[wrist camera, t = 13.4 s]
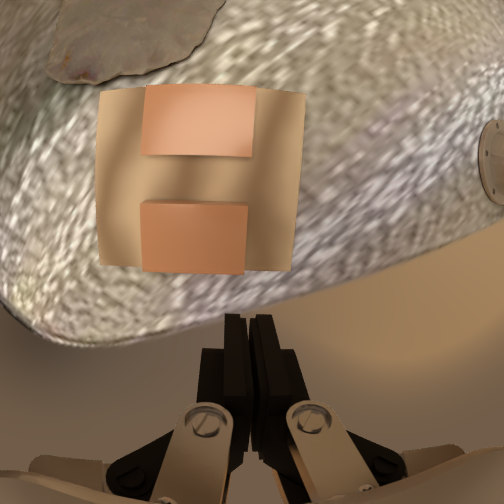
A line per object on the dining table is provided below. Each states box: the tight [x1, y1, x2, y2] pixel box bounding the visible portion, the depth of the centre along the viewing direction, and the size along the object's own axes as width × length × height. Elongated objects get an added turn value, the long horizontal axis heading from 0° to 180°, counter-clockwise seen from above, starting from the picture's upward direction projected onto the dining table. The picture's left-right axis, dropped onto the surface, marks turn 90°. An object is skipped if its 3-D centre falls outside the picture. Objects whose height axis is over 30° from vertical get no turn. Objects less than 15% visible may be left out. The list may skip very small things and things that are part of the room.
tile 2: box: [140, 200, 248, 275], centre depth 25 cm, size 2×6×9 cm
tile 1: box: [141, 84, 256, 157], centre depth 22 cm, size 2×6×9 cm
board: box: [95, 87, 306, 271], centre depth 25 cm, size 19×17×1 cm
